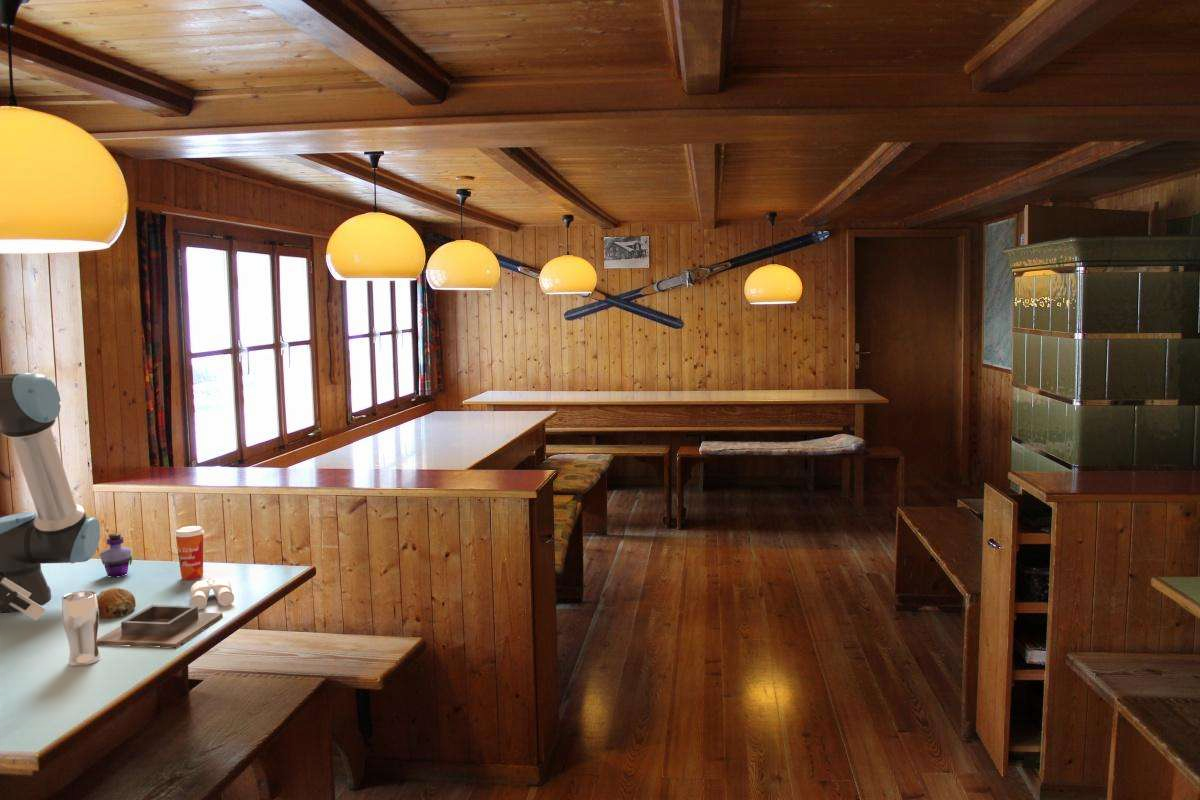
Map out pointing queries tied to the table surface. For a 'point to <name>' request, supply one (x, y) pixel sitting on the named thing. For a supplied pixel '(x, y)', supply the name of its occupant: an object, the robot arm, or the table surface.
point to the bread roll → (115, 602)
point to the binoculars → (203, 588)
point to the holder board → (160, 626)
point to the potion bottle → (116, 556)
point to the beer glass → (81, 626)
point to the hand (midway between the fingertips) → (33, 606)
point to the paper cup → (190, 551)
